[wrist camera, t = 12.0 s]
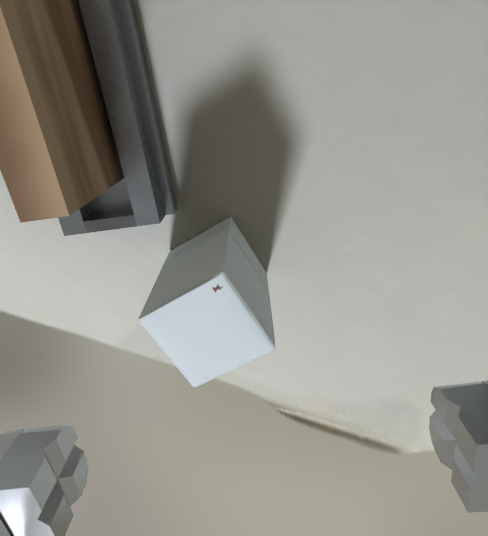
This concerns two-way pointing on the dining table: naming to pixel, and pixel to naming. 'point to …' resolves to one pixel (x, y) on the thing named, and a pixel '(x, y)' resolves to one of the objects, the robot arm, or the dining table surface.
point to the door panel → (52, 111)
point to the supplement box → (211, 305)
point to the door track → (125, 125)
